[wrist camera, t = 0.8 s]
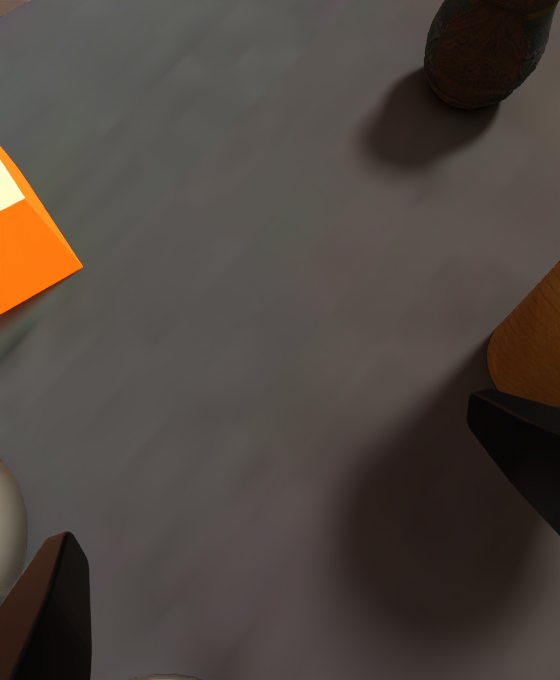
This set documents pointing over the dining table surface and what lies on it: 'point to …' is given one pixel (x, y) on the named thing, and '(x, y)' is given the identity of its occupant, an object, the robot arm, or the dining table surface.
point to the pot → (11, 532)
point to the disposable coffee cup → (530, 345)
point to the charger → (10, 5)
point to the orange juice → (27, 241)
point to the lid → (165, 677)
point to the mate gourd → (485, 48)
